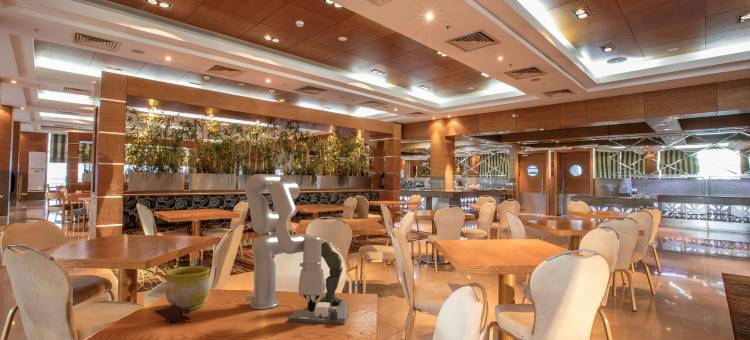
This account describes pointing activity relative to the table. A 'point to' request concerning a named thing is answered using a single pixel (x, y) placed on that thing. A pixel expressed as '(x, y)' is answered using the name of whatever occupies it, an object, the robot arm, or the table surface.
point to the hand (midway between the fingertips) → (311, 310)
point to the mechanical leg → (331, 273)
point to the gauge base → (332, 318)
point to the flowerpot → (187, 286)
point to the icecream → (173, 313)
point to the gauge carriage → (323, 309)
